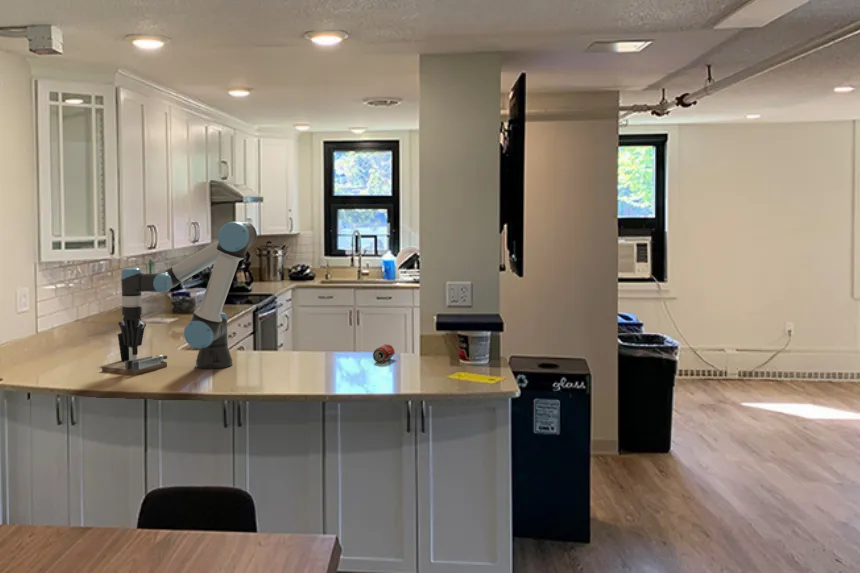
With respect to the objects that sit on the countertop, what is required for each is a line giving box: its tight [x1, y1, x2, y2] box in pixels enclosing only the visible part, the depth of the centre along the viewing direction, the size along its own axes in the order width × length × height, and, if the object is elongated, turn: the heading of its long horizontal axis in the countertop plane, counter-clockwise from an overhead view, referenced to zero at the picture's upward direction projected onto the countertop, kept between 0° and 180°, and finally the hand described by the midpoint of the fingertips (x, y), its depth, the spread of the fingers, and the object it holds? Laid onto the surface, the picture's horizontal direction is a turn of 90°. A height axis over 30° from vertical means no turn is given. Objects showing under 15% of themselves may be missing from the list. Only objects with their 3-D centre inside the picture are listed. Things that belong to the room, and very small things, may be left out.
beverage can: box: [372, 343, 396, 364], centre depth 333 cm, size 7×12×7 cm, turn 165°
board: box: [101, 360, 168, 376], centre depth 318 cm, size 18×18×2 cm
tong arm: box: [125, 355, 153, 369], centre depth 313 cm, size 1×13×3 cm, turn 153°
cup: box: [117, 332, 129, 362], centre depth 336 cm, size 8×8×12 cm
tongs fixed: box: [132, 354, 168, 370], centre depth 315 cm, size 4×20×3 cm, turn 156°
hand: (133, 362), depth 312 cm, fingers closed
